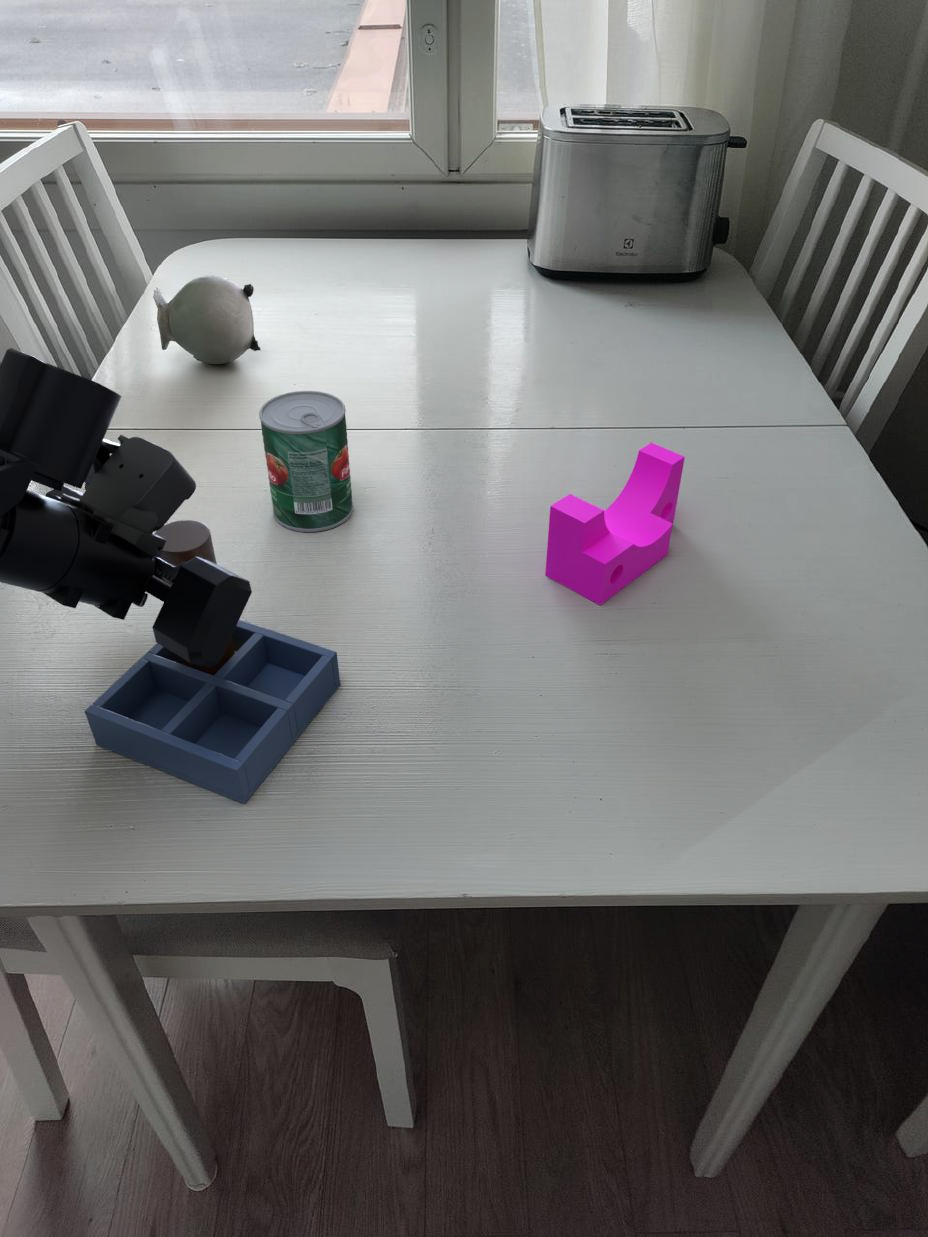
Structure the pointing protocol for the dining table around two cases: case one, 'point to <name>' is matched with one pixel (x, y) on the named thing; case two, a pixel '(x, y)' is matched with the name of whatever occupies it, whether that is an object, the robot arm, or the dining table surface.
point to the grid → (217, 710)
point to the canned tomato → (307, 460)
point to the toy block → (616, 529)
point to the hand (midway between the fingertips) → (211, 595)
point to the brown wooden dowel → (182, 547)
